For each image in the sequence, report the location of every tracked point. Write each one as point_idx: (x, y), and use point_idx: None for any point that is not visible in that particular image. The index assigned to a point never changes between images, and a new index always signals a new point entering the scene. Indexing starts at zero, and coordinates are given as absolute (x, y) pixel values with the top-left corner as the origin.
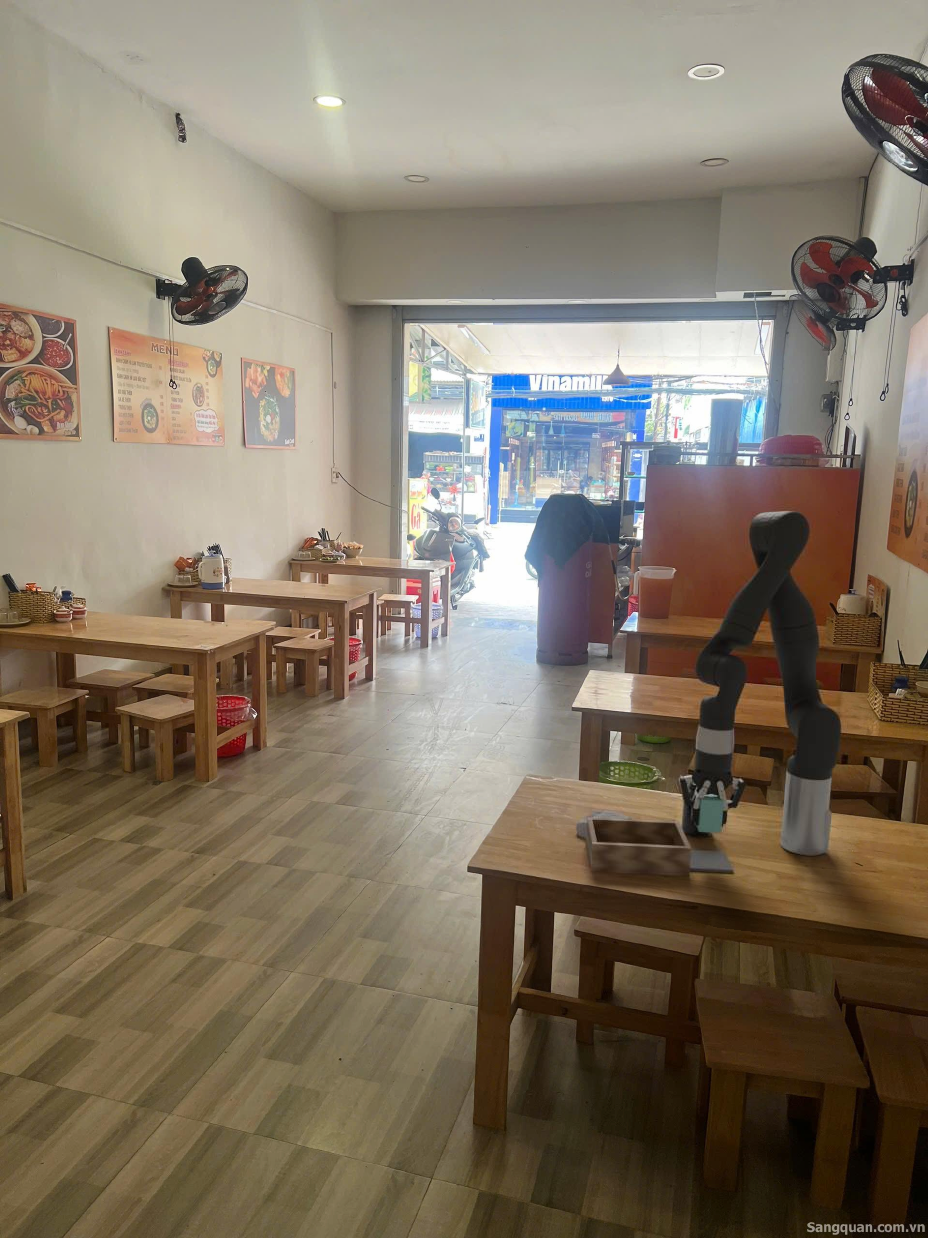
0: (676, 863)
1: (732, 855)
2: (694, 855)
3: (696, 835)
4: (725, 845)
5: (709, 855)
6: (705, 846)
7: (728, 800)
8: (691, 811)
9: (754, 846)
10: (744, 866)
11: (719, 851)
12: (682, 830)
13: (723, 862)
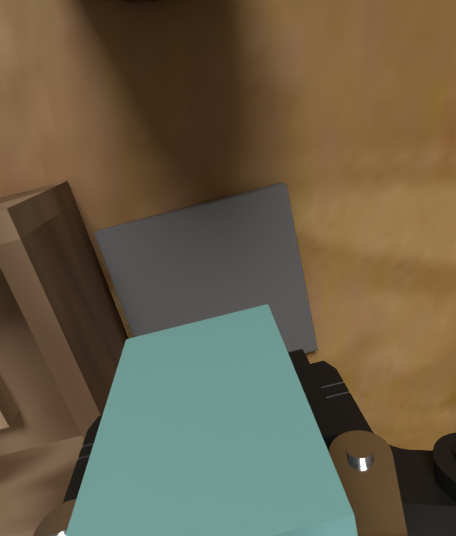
0: None
1: (323, 177)
2: (159, 276)
3: (138, 2)
4: (297, 60)
5: (223, 252)
6: (198, 113)
7: (438, 507)
8: (75, 481)
9: (444, 16)
10: (362, 272)
11: (267, 191)
12: (64, 344)
13: (281, 300)
